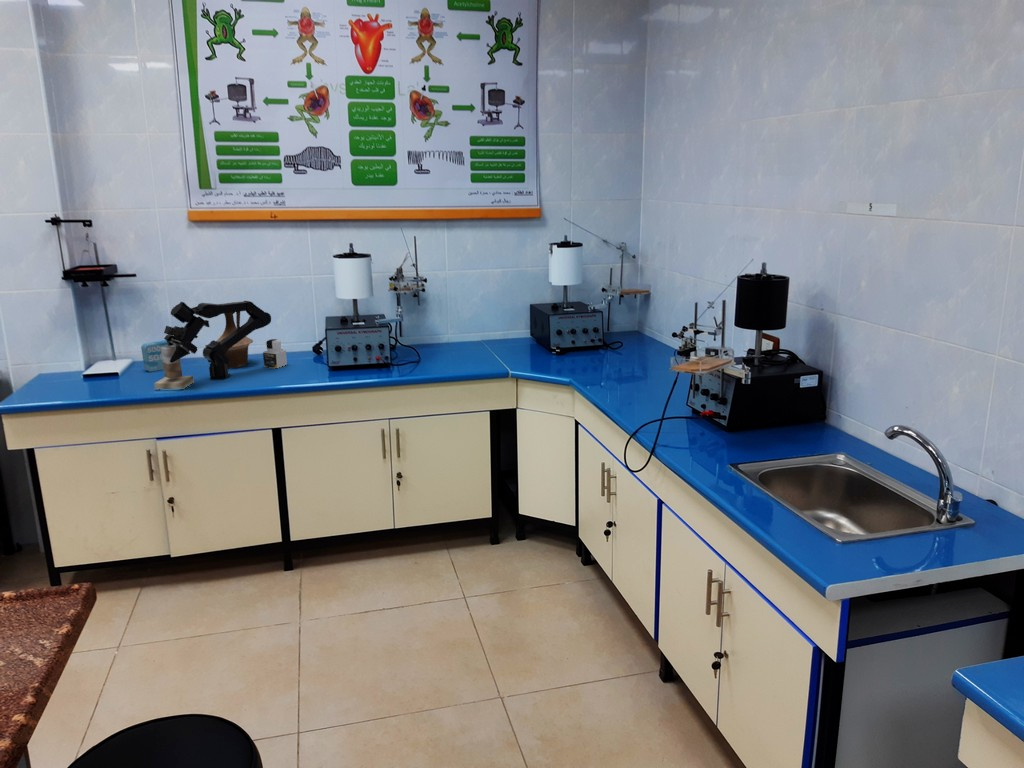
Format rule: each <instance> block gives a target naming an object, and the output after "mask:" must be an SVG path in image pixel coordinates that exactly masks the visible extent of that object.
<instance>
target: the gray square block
mask: <svg viewBox="0 0 1024 768" xmlns="http://www.w3.org/2000/svg"><path fill="white" fill-rule="evenodd" d="M175 351H176V346H174V345H172V346H167V347H161V354H162V360H163V367H164V370H163V372H164V377H167V378H170V379H171V378H176V377H181V376H183V372H182V370H183V369H182V364H181V363H182V362H181V358H180V359H178V360H176V361H175V362H173V363H171V362H170V360H171V358H172V356H173V354H174V352H175Z"/></svg>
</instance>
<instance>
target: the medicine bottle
mask: <svg viewBox="0 0 1024 768" xmlns="http://www.w3.org/2000/svg"><path fill="white" fill-rule="evenodd" d="M265 345H266V350H265V351H263V352H262V357H263V366H264V367H263V368H265V367H269V368H268V369H275V368H278V369H280V368H283V367H285V365H286V366H287V365H288V362H287V361H288V360H287V350H286V349H282V342H281V340H280V339H277V338H275V339H274V338H272V339H268V340H266V343H265ZM282 366H283V367H282ZM279 367H280V368H279Z"/></svg>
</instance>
